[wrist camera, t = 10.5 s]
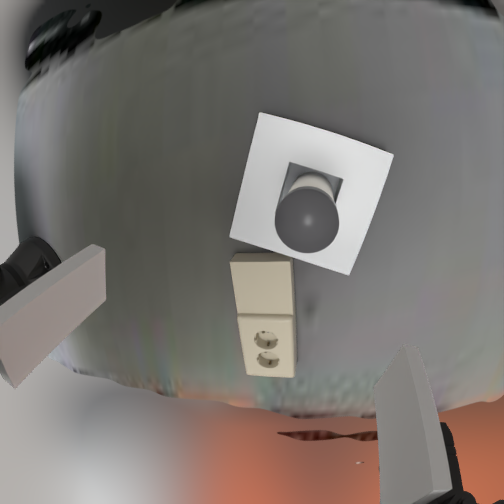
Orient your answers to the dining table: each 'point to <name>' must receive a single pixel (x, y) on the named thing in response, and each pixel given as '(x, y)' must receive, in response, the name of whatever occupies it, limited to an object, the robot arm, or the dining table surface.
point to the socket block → (296, 163)
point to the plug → (308, 214)
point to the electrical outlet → (266, 312)
